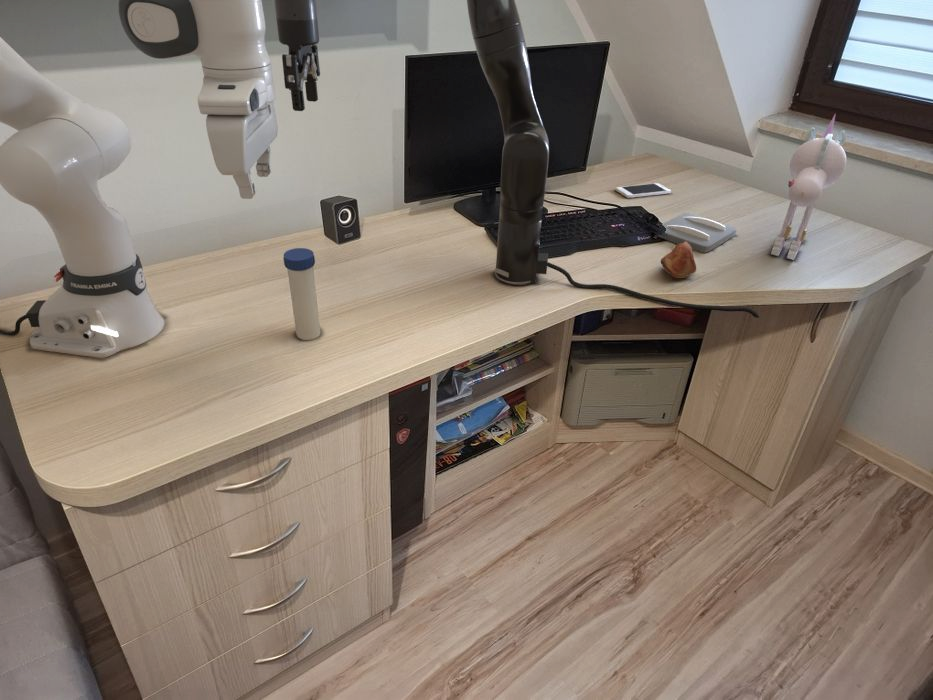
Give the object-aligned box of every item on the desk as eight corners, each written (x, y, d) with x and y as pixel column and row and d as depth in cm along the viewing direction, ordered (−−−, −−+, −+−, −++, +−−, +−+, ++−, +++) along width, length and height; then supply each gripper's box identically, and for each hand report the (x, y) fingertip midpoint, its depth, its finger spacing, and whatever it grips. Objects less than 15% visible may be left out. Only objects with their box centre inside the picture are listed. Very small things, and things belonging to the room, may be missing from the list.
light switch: (708, 241, 156) (653, 223, 165) (705, 253, 158) (650, 234, 167) (740, 223, 167) (687, 206, 176) (737, 234, 169) (684, 217, 178)
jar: (292, 338, 121) (281, 260, 112) (302, 326, 124) (292, 249, 115) (314, 341, 120) (305, 263, 111) (324, 329, 123) (315, 252, 114)
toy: (826, 222, 178) (867, 110, 161) (806, 269, 152) (852, 142, 135) (779, 212, 183) (814, 103, 167) (751, 256, 157) (789, 132, 141)
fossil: (669, 273, 140) (675, 228, 140) (641, 275, 147) (646, 232, 147) (707, 283, 147) (712, 240, 147) (678, 285, 154) (683, 244, 154)
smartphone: (614, 190, 195) (615, 187, 194) (657, 185, 199) (658, 182, 199) (627, 198, 189) (628, 195, 189) (671, 193, 194) (671, 190, 193)
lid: (279, 268, 112) (277, 258, 111) (292, 256, 116) (291, 246, 115) (307, 272, 111) (306, 262, 110) (319, 259, 116) (318, 249, 115)
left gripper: (238, 72, 96) (253, 163, 103) (192, 103, 79) (214, 210, 86) (280, 72, 96) (292, 164, 103) (244, 104, 79) (261, 211, 86)
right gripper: (303, 21, 114) (313, 115, 123) (327, 12, 125) (334, 99, 134) (263, 19, 114) (275, 113, 123) (290, 10, 126) (299, 96, 135)
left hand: (256, 185), depth 95 cm, fingers open, 8 cm apart
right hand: (306, 105), depth 129 cm, fingers open, 8 cm apart
